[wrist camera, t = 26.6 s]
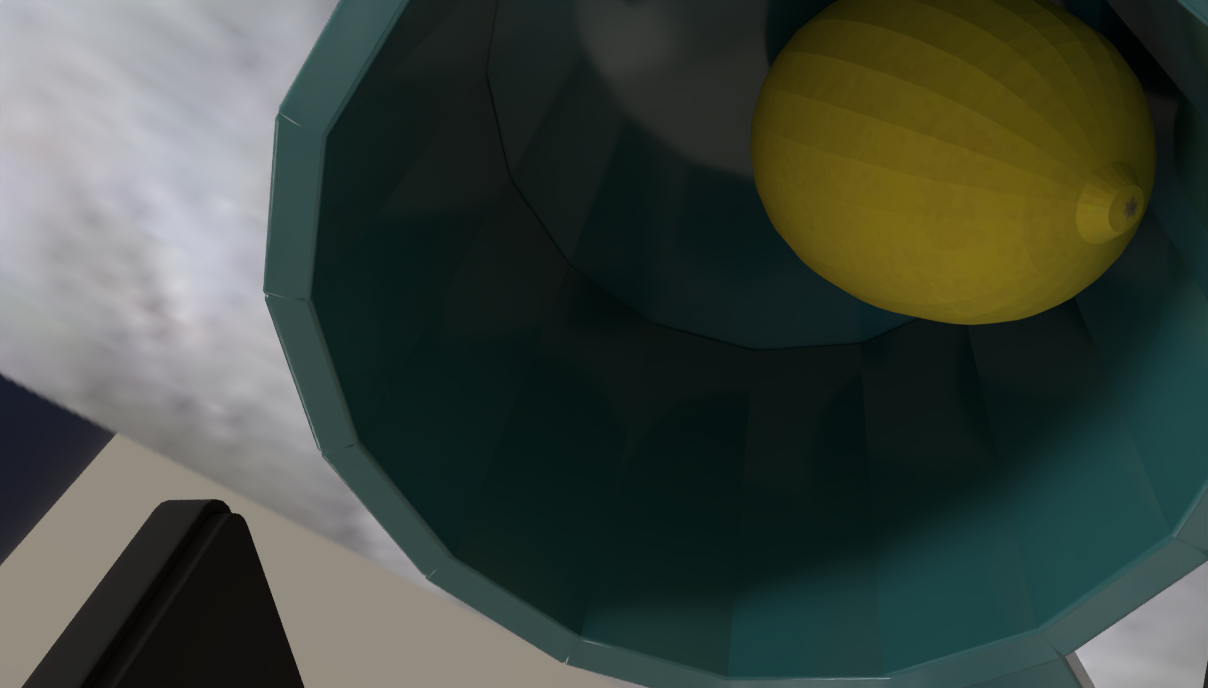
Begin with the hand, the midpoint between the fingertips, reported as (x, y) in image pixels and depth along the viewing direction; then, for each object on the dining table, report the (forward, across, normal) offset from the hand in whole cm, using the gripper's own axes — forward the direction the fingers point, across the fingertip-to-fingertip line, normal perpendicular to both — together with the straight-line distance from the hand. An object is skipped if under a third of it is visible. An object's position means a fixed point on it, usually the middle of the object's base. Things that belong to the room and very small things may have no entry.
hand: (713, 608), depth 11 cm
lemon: (+14, -1, 0) cm, 14 cm away
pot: (+15, -1, 0) cm, 15 cm away
